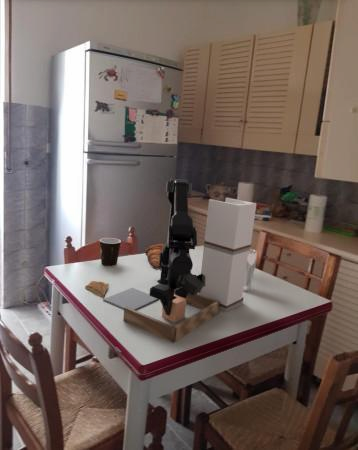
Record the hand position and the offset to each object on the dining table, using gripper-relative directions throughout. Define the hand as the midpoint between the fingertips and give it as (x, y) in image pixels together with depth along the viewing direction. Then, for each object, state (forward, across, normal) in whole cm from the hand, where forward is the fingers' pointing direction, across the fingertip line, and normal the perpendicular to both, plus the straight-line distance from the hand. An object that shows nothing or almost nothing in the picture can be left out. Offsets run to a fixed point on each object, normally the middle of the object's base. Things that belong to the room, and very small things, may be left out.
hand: (173, 312), depth 115 cm
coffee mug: (+2, +19, +47) cm, 51 cm away
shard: (+2, -1, +30) cm, 30 cm away
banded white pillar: (+2, +21, -5) cm, 22 cm away
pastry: (+2, +40, +36) cm, 53 cm away
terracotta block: (+2, 0, 0) cm, 2 cm away
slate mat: (+2, 0, +17) cm, 17 cm away
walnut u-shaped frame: (+2, 0, 0) cm, 2 cm away
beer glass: (+2, +39, -5) cm, 39 cm away
